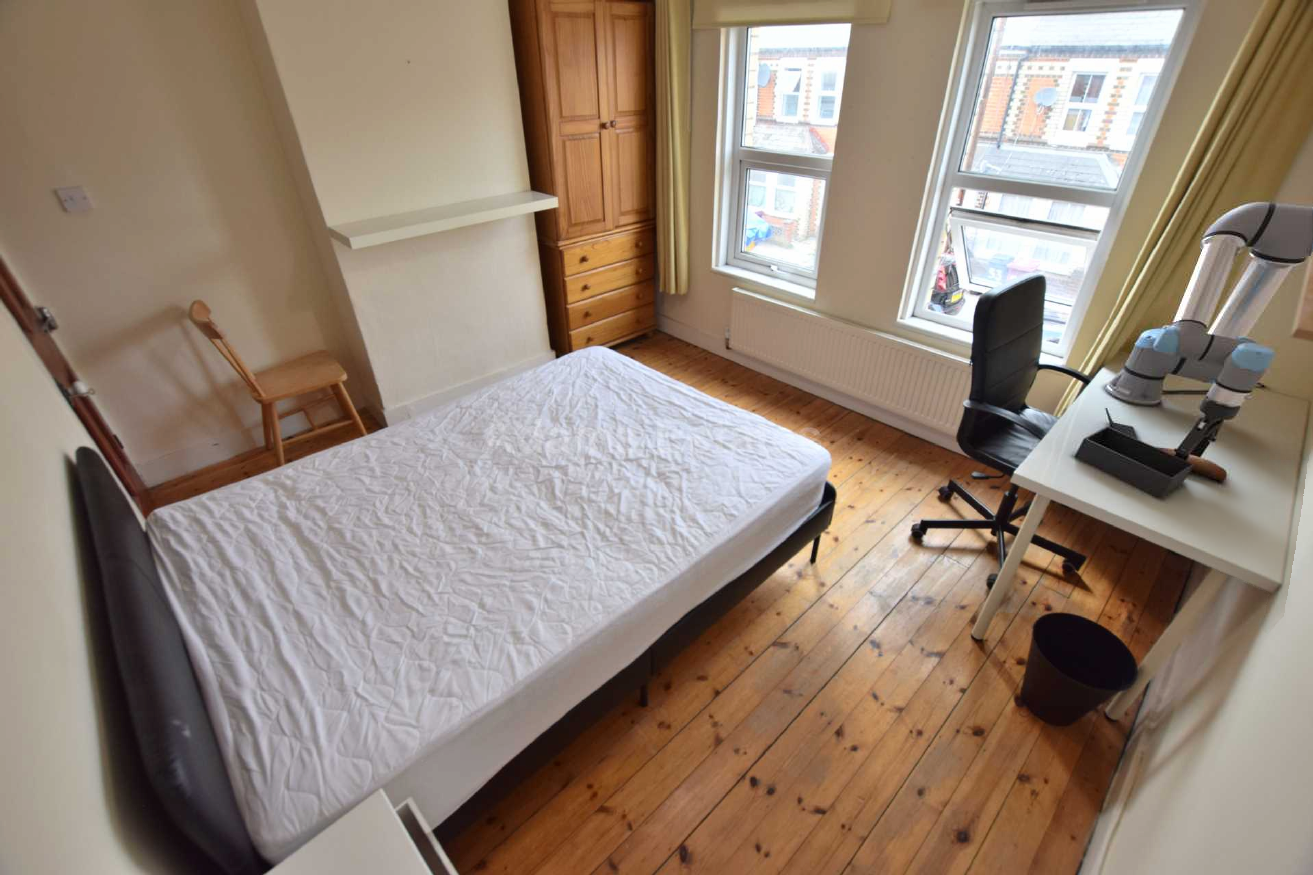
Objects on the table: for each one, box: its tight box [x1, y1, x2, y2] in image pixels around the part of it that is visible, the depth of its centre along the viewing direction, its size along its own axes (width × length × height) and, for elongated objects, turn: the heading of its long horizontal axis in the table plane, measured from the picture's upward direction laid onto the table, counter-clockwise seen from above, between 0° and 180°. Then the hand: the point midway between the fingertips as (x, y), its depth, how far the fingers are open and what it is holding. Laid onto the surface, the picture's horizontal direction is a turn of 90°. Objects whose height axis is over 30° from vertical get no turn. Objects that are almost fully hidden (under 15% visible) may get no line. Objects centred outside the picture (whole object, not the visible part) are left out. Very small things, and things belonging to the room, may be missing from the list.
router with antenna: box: [1104, 407, 1138, 439], centre depth 177 cm, size 12×7×10 cm
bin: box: [1074, 425, 1195, 500], centre depth 161 cm, size 13×22×7 cm, turn 31°
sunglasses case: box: [1155, 446, 1228, 483], centre depth 164 cm, size 18×7×7 cm
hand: (1181, 465), depth 165 cm, fingers open, 13 cm apart
